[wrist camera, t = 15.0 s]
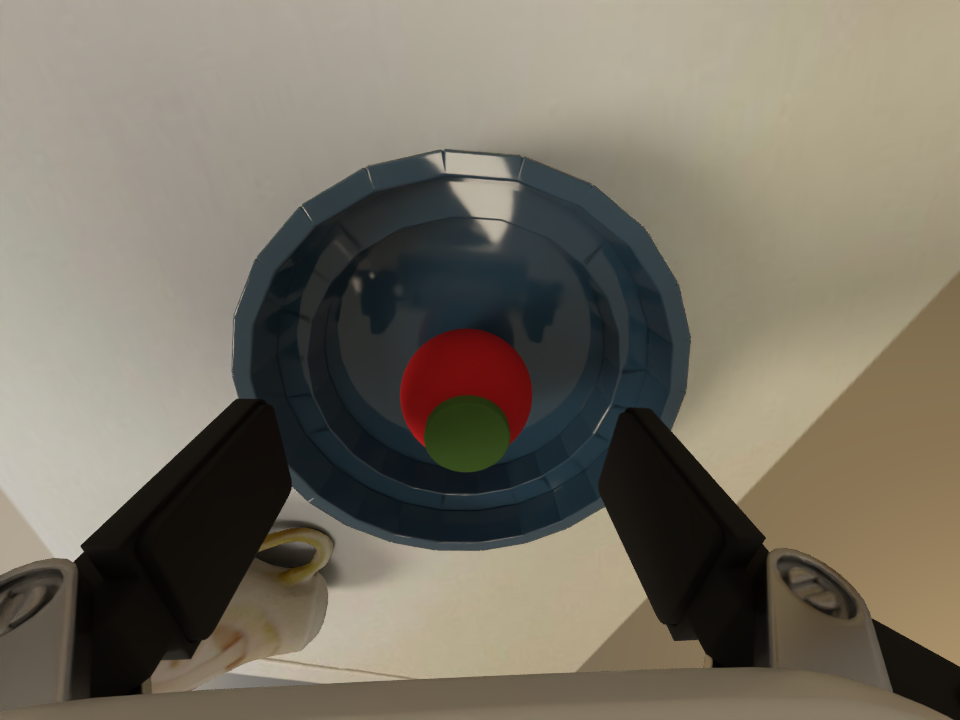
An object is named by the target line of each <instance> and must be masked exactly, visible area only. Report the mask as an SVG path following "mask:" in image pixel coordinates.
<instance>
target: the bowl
mask: <svg viewBox="0 0 960 720" xmlns="http://www.w3.org/2000/svg"><path fill="white" fill-rule="evenodd" d="M455 329H478V330H482V331H486V332H489V333H491V334H494V335H496V336H498V337H500V338H502V339H503V340H504V341H506V342H507V343H508V344H509V345H510V346H512V347H513V348H514V349H515V350H516V352H517V353H518V354H519V355H520V357H521V358H522V360H523V362H524V363H525V365H526V367H527V370H528V372H529V375H530V380H531V384H532V406H531V410H530V414H529V417H528V420H527V422H526V424H525V426H524V428H523V430H522V431H521V433H520V434H519V435H518V437H517V438H516V439H515V440H514V441H513V442H512V443H511V444H510V445H509V447H508V449H507V451H506V453H505V454H504V456H503V457H502V458H501V459H500V460H499V461H498V462H496V463H495V464H494V465H492V466H490V467H488V468H486V469H483V470H480V471H475V472H458V471H453V470H450V469H447V468H445V467H443V466H441V465H439V464H438V463H437V462H435V461H434V460H433V459H432V457H431V456H430V455H429V453H428V452H427V450H426V447H424V446H423V445H422V444H421V443H420V442H419V441H418V440H417V439H416V438H415V437H414V435H413V434H412V432H411V431H410V429H409V427H408V426H407V424H406V421H405V419H404V416H403V413H402V409H401V402H400V388H401V383H402V377H403V374H404V371H405V369H406V367H407V365H408V363H409V361H410V359H411V358H412V356H413V355H414V354H415V352H416V351H417V350H418V349H419V348H420V347H421V346H422V345H423V344H425V343H426V342H427V341H429V340H430V339H432V338H433V337H435V336H437V335H439V334H442V333H444V332H447V331H451V330H455ZM690 338H691V336H690V332H689V327H688V323H687V318H686V314H685V309H684V305H683V301H682V296H681V292H680V287H679V284H678V282H677V280H676V278H675V277H674V275H673V274H672V272H671V270H670V269H669V267H668V265H667V264H666V262H665V260H664V259H663V257H662V255H661V254H660V252H659V250H658V249H657V247H656V245H655V244H654V242H653V240H652V239H651V237H650V235H649V234H648V232H647V231H646V229H645V228H644V227H643V226H642V225H640V224H639V223H638V222H637V221H636V220H635V219H633V218H632V217H631V216H630V215H629V214H628V213H626V212H625V211H624V210H623V209H622V208H621V207H619V206H618V205H617V204H616V203H615V202H613V201H612V200H611V199H610V198H609V197H608V196H606V195H605V194H604V193H603V192H602V191H601V190H599V189H598V188H597V187H596V186H594V185H592V184H591V183H588V182H586V181H584V180H581V179H579V178H576V177H574V176H571V175H569V174H567V173H564V172H562V171H559V170H557V169H554V168H552V167H550V166H547V165H545V164H542V163H540V162H537V161H535V160H533V159H530V158H528V157H522V156H520V155H512V154H500V153H488V152H476V151H464V150H452V149H445V150H444V151H443V150H435V151H431V152H427V153H422V154H418V155H413V156H409V157H405V158H400V159H396V160H391V161H387V162H383V163H378V164H374V165H369V166H367V167H366V168H362V169H360V170H358V171H357V172H355V173H353V174H352V175H350V176H348V177H347V178H345V179H343V180H342V181H340V182H338V183H337V184H335V185H333V186H332V187H330V188H328V189H327V190H325V191H323V192H322V193H320V194H318V195H317V196H315V197H313V198H312V199H310V200H308V201H307V202H305V203H303V204H302V206H301V207H298V209H297V210H296V211H295V212H294V213H293V215H292V216H291V217H290V218H289V219H288V220H287V222H286V223H285V224H284V225H283V226H282V228H281V229H280V230H279V231H278V232H277V233H276V235H275V236H274V237H273V238H272V239H271V240H270V242H269V243H268V244H267V245H266V246H265V248H264V249H263V250H262V251H261V252H260V253H259V255H258V256H257V259H255V261H254V263H253V266H252V269H251V271H250V274H249V276H248V279H247V282H246V284H245V287H244V289H243V292H242V295H241V297H240V300H239V303H238V305H237V308H236V310H235V313H234V318H233V342H232V373H233V374H232V377H233V381H234V384H235V388H236V391H237V395H238V398H239V399H240V398H241V399H263V400H265V401H266V402H267V404H268V405H272V406H273V408H274V410H275V414H276V419H277V423H278V427H279V431H280V435H281V439H282V443H283V447H284V451H285V455H286V459H287V463H288V467H289V471H290V475H291V479H292V487H293V488H294V489H295V490H296V491H297V492H299V493H300V494H301V495H302V496H303V497H304V498H305V499H306V500H307V501H308V502H309V503H311V504H312V505H314V506H315V507H317V508H319V509H320V510H322V511H324V512H325V513H327V514H328V515H330V516H332V517H333V518H335V519H337V520H338V521H340V522H341V523H343V524H345V525H346V526H349V527H351V528H354V529H357V530H359V531H362V532H365V533H367V534H370V535H373V536H375V537H378V538H381V539H383V540H386V541H389V542H393V543H397V544H402V545H408V546H414V547H419V548H425V549H430V550H436V549H437V550H438V551H480V550H482V551H483V550H489V549H495V548H501V547H507V546H513V545H519V544H524V543H528V542H531V541H534V540H537V539H539V538H542V537H545V536H548V535H551V534H554V533H556V532H559V531H562V530H565V529H567V528H569V527H571V526H573V525H574V524H576V523H578V522H580V521H581V520H583V519H585V518H587V517H588V516H590V515H592V514H593V513H595V512H597V511H599V510H600V509H602V508H604V507H605V505H604V503H603V501H602V498H601V496H600V494H599V490H598V482H599V478H600V475H601V472H602V468H603V465H604V462H605V459H606V455H607V452H608V449H609V446H610V442H611V439H612V436H613V433H614V429H615V426H616V423H617V419H618V416H619V414H620V413H622V412H625V410H626V409H627V408H629V407H636V408H650V409H651V410H653V411H654V412H655V414H656V415H657V416H658V417H659V418H660V419H661V420H662V421H663V423H664V424H665V425H666V426H667V427H668V428H669V429H670V430H672V427H673V424H674V422H675V419H676V417H677V414H678V412H679V409H680V406H681V404H682V401H683V399H684V396H685V394H686V389H687V377H688V366H689V354H690V343H691V340H690Z"/></svg>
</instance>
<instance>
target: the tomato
mask: <svg viewBox="0 0 960 720" xmlns="http://www.w3.org/2000/svg"><path fill="white" fill-rule="evenodd" d="M400 402H401V409H402V413H403V416H404V419H405V421H406V424H407V426H408V427H409V429H410V431H411V432H412V434H413V435H414V437H415V438H416V439H417V440H418V441H419V442H420V443H421V444H422V445H423V446H424V447H426V450H427V452H428V453H429V455H430V456H431V457H432V459H433V460H434V461H435V462H437V463H438V464H439V465H441V466H443V467H445V468H447V469H450V470H453V471H458V472H475V471H480V470H483V469H486V468H488V467H490V466H492V465H494V464H495V463H496V462H498V461H499V460H500V459H501V458H502V457H503V456H504V454H505V453H506V451H507V449H508V447H509V445H510V444H511V443H512V442H513V441H514V440H515V439H516V438H517V437H518V435H519V434H520V433H521V431H522V430H523V428H524V426H525V424H526V422H527V420H528V417H529V414H530V410H531V406H532V384H531V380H530V375H529V372H528V370H527V367H526V365H525V363H524V362H523V360H522V358H521V357H520V355H519V354H518V353H517V352H516V350H515V349H514V348H513V347H512V346H510V345H509V344H508V343H507V342H506V341H504V340H503V339H502V338H500V337H498V336H496V335H494V334H491V333H489V332H486V331H482V330H478V329H455V330H451V331H447V332H444V333H442V334H439V335H437V336H435V337H433V338H432V339H430V340H429V341H427V342H426V343H425V344H423V345H422V346H421V347H420V348H419V349H418V350H417V351H416V352H415V354H414V355H413V356H412V358H411V359H410V361H409V363H408V365H407V367H406V369H405V371H404V374H403V377H402V383H401V388H400Z"/></svg>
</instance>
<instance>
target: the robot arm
mask: <svg viewBox="0 0 960 720" xmlns="http://www.w3.org/2000/svg"><path fill="white" fill-rule="evenodd" d="M291 487H292V479H291V475H290V471H289V467H288V463H287V459H286V455H285V451H284V447H283V443H282V439H281V435H280V431H279V427H278V423H277V419H276V414H275V410H274V408H273V406H272V405H268V404H267V402H266V401H265V400H263V399H241V398H240V399H236V400H235V401H233V402H232V403H231V404H230V405H229V406H228V407H227V408H226V409H225V410H224V411H223V412H222V413H221V414H220V415H219V416H218V417H217V418H215V419H214V420H213V421H212V422H211V423H210V424H209V425H208V426H207V427H206V428H205V429H204V430H203V431H202V432H201V433H200V434H198V435H197V436H196V437H195V438H194V439H193V440H192V441H191V442H190V443H189V444H188V445H187V446H186V447H185V448H184V449H183V450H181V451H180V452H179V453H178V454H177V455H176V456H175V457H174V458H173V459H172V460H171V461H170V462H169V463H168V464H167V465H166V466H165V467H163V468H162V469H161V470H160V471H159V472H158V473H157V474H156V475H155V476H154V477H153V478H152V479H151V480H150V481H149V482H148V483H146V484H145V485H144V486H143V487H142V488H141V489H140V490H139V491H138V492H137V493H136V494H135V495H134V496H133V497H132V498H131V499H130V500H128V501H127V502H126V503H125V504H124V505H123V506H122V507H121V508H120V509H119V510H118V511H117V512H116V513H115V514H114V515H113V516H111V517H110V518H109V519H108V520H107V521H106V522H105V523H104V524H103V525H102V526H101V527H100V528H99V529H98V530H97V531H96V532H95V533H93V534H92V535H91V536H90V537H89V538H88V539H87V540H86V541H85V542H84V543H83V544H82V545H81V548H82V549H83V551H84V552H83V553H82V554H81V555H80V556H79V557H78V558H77V559H76V560H75V561H74V562H71V561H70V560H68V559H61V558H51V559H46V560H40V561H35V562H32V563H30V564H26V565H24V566H21V567H18V568H15V569H13V570H11V571H9V572H7V573H4V574H2V575H0V720H960V667H959V666H957V665H955V664H954V663H952V662H950V661H948V660H946V659H945V658H943V657H941V656H939V655H937V654H936V653H934V652H932V651H930V650H928V649H927V648H924V647H923V646H921V645H919V644H918V643H916V642H914V641H912V640H910V639H908V638H907V637H905V636H903V635H901V634H899V633H898V632H896V631H894V630H892V629H890V628H889V627H887V626H885V625H883V624H881V623H880V622H878V621H876V620H874V619H872V618H871V615H870V612H869V610H868V608H867V606H866V604H865V601H864V600H863V598H862V597H861V596H860V594H859V593H858V592H857V591H856V589H855V588H854V587H853V586H852V585H851V584H850V583H849V582H848V581H847V580H846V579H844V578H843V577H842V576H841V575H840V574H839V573H837V572H836V571H835V570H833V569H832V568H830V567H829V566H828V565H826V564H825V563H823V562H821V561H819V560H818V559H816V558H814V557H812V556H810V555H808V554H805V553H803V552H800V551H798V550H793V549H788V548H776V549H773V550H772V551H771V552H769V551H768V550H767V549H766V548H765V547H764V545H763V544H762V543H763V542H764V540H765V539H766V538H765V536H764V535H763V534H762V533H761V532H760V531H759V530H758V528H756V526H755V525H754V524H753V523H752V522H751V521H750V520H749V518H748V517H747V516H746V515H745V514H744V513H743V512H742V510H740V508H739V507H738V506H737V505H736V504H735V503H734V501H733V500H732V499H731V498H730V497H729V496H728V495H727V494H726V492H725V491H724V490H723V489H722V488H721V487H720V486H719V485H718V483H717V482H716V481H715V480H714V479H713V478H712V477H711V476H710V474H709V473H708V472H707V471H706V470H705V469H704V468H703V467H702V465H701V464H700V463H699V462H698V461H697V460H696V459H695V458H694V456H693V455H692V454H691V453H690V452H689V451H688V450H687V449H686V447H685V446H684V445H683V444H682V443H681V442H680V441H679V440H678V438H677V437H676V436H675V435H674V434H673V433H672V432H671V430H670V429H669V428H668V427H667V426H666V425H665V424H664V423H663V421H662V420H661V419H660V418H659V417H658V416H657V415H656V414H655V412H654V411H653V410H651V409H650V408H636V407H629V408H627V409H626V410H625V412H622V413H620V414H619V416H618V419H617V423H616V426H615V429H614V433H613V436H612V439H611V442H610V446H609V449H608V452H607V455H606V459H605V462H604V465H603V468H602V472H601V475H600V478H599V482H598V490H599V494H600V496H601V498H602V501H603V503H604V505H605V507H606V509H607V511H608V513H609V516H610V518H611V520H612V522H613V524H614V526H615V528H616V530H617V533H618V535H619V537H620V539H621V541H622V543H623V545H624V548H625V550H626V552H627V554H628V556H629V558H630V560H631V563H632V565H633V567H634V569H635V571H636V573H637V575H638V577H639V580H640V582H641V584H642V586H643V588H644V590H645V592H646V595H647V597H648V599H649V601H650V603H651V605H652V607H653V609H654V611H655V614H656V616H657V617H658V619H659V620H660V622H661V623H663V624H666V625H667V627H668V629H669V631H670V633H671V635H672V637H673V639H674V641H683V640H697V639H698V640H699V642H700V644H701V645H702V647H703V649H704V651H705V657H704V666H703V668H685V669H684V668H683V669H652V670H627V671H602V672H576V673H551V674H527V675H504V676H482V677H460V678H438V679H416V680H394V681H373V682H352V683H333V684H313V685H296V686H295V685H294V686H274V687H256V688H235V689H215V690H198V691H184V692H169V693H155V694H152V683H151V676H152V674H153V673H154V671H155V669H156V668H157V666H158V665H159V663H160V661H161V660H187V659H192V657H193V655H194V653H195V652H196V650H197V648H198V646H199V644H200V643H201V641H202V640H206V639H207V638H209V637H210V636H211V634H212V633H213V632H214V630H215V629H216V627H217V625H218V623H219V621H220V620H221V618H222V616H223V614H224V612H225V610H226V609H227V607H228V605H229V603H230V601H231V600H232V598H233V596H234V594H235V592H236V591H237V589H238V587H239V585H240V583H241V581H242V580H243V578H244V576H245V574H246V572H247V571H248V569H249V567H250V565H251V563H252V562H253V560H254V558H255V556H256V554H257V553H258V551H259V549H260V547H261V545H262V543H263V542H264V540H265V538H266V536H267V534H268V533H269V531H270V529H271V527H272V525H273V524H274V522H275V520H276V518H277V516H278V514H279V513H280V511H281V509H282V507H283V505H284V504H285V502H286V500H287V498H288V496H289V494H290V492H291Z"/></svg>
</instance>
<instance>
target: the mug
mask: <svg viewBox="0 0 960 720" xmlns="http://www.w3.org/2000/svg"><path fill="white" fill-rule="evenodd" d="M296 541H300V542H306V543H308V544H310V545H313V546H314V547H315V548H316V553H315V555H314V558H313V559H312V561H311V562H310V563H309V564H307V565H304V566H300V567H294V568H291V569H290V568H282V567H277V566H274V565H271V564H268V563H265V562H263V561H261V560H259V559H257V558H254V560H253V562H252V563H251V565H250V567H249V569H248V571H247V572H246V574H245V576H244V578H243V580H242V581H241V583H240V585H239V587H238V589H237V591H236V592H235V594H234V596H233V598H232V600H231V601H230V603H229V605H228V607H227V609H226V610H225V612H224V614H223V616H222V618H221V620H220V621H219V623H218V625H217V627H216V629H215V630H214V632H213V633H212V634H211V636H210V637H209V638H207V639H206V640H202V641H201V643H200V644H199V646H198V648H197V650H196V652H195V653H194V655H193V657H192V659H187V660H161V661H160V663H159V665H158V666H157V668H156V669H155V671H154V673H153V674H152V676H151V683H152V694H155V693H169V692H184V691H191V690H193V689H195V688H197V687H199V686H200V685H202V684H204V683H206V682H208V681H210V680H212V679H214V678H216V677H218V676H220V675H222V674H224V673H226V672H228V671H230V670H232V669H234V668H236V667H238V666H240V665H242V664H244V663H247V662H250V661H253V660H256V659H260V658H264V657H269V656H274V655H280V654H286V653H291V652H298V651H301V650H302V649H304V648H305V646H306V645H307V644H308V643H309V642H311V641H312V640H313V639H314V638H315V637H316V636H317V634H318V633H319V631H320V629H321V627H322V625H323V622H324V618H325V615H326V610H327V605H328V590H327V585H326V582H325V579H324V578H323V576H322V575H321V574H320V573H319V571H318V570H320V569H321V568H322V567H324V566H325V565H326V564H327V562H328V561H329V559H330V557H331V555H332V551H333V544H332V541H331V540H330V538H329V537H328V536H327V535H325V534H323V533H322V532H320V531H317V530H313V529H310V528H291V529H287V530H283V531H279V532H275V533H271V534H268V535H267V536H266V538H265V540H264V542H263V543H262V545H261V547H260V549H259V551H258V552H260V551H263V550H265V549H268V548H271V547H274V546H277V545H280V544H284V543H288V542H296Z"/></svg>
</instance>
